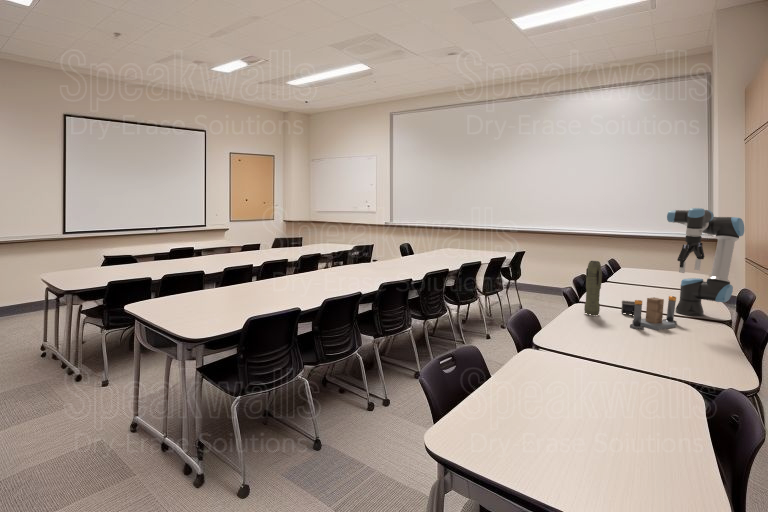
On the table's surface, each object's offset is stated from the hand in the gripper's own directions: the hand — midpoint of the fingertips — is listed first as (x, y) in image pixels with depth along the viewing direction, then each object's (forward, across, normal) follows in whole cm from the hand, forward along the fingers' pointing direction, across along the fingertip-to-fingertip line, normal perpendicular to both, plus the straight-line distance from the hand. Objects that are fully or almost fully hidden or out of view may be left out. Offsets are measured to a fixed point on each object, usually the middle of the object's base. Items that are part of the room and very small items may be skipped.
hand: (689, 271), depth 254 cm
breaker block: (+30, -19, +5) cm, 35 cm away
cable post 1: (+31, -33, +5) cm, 45 cm away
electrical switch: (+34, -10, +28) cm, 45 cm away
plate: (+32, -19, +5) cm, 37 cm away
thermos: (+34, -32, +38) cm, 60 cm away
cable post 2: (+32, -5, +5) cm, 33 cm away
